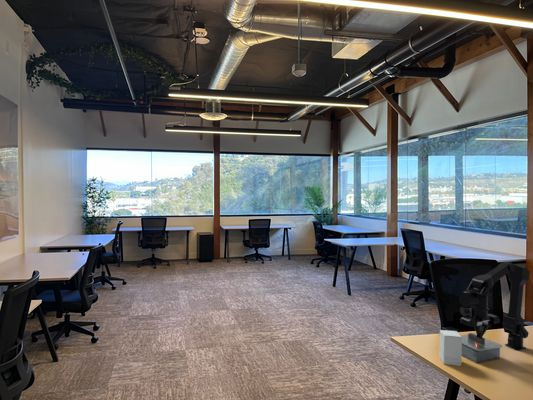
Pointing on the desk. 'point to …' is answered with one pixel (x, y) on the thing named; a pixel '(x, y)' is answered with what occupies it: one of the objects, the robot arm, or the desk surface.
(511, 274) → the robot arm
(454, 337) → the supplement box
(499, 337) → the desk surface
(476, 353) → the grey open box
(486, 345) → the lid
